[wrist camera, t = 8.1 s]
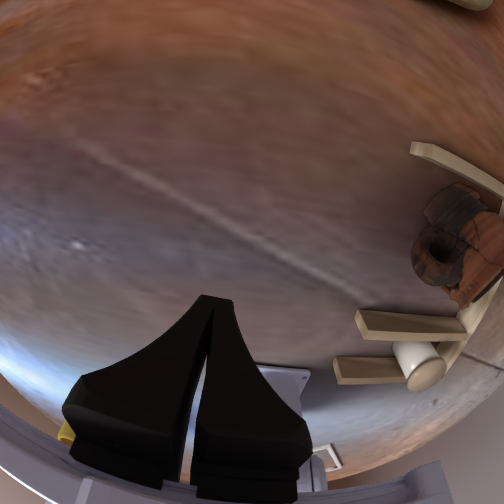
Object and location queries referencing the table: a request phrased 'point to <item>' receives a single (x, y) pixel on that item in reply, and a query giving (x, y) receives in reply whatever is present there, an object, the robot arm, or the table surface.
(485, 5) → the bread roll
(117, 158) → the table surface
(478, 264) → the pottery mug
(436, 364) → the cream jar
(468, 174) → the bracket
